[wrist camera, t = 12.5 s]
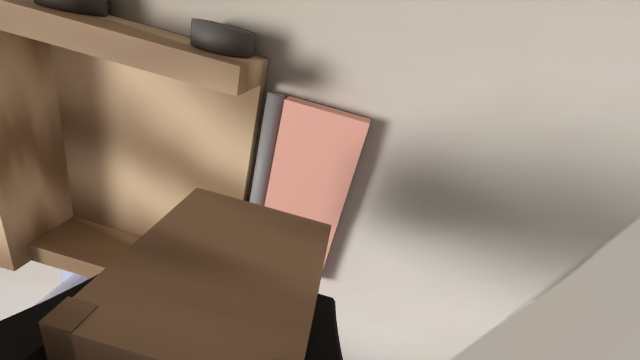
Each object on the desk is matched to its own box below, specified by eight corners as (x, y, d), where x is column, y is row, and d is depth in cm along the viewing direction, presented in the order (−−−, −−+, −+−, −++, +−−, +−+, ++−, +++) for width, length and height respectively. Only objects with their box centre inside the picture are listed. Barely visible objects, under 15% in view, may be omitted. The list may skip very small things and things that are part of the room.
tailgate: (243, 255, 22) (319, 279, 21) (237, 264, 21) (316, 289, 21) (270, 90, 17) (370, 118, 16) (264, 93, 16) (370, 123, 16)
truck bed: (234, 279, 23) (200, 340, 18) (70, 231, 23) (-2, 278, 19) (272, 37, 16) (233, 38, 11) (34, -29, 16) (-96, -52, 12)
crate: (304, 322, 12) (259, 514, 7) (189, 288, 12) (69, 455, 8) (333, 224, 10) (299, 399, 5) (195, 185, 10) (38, 322, 6)
